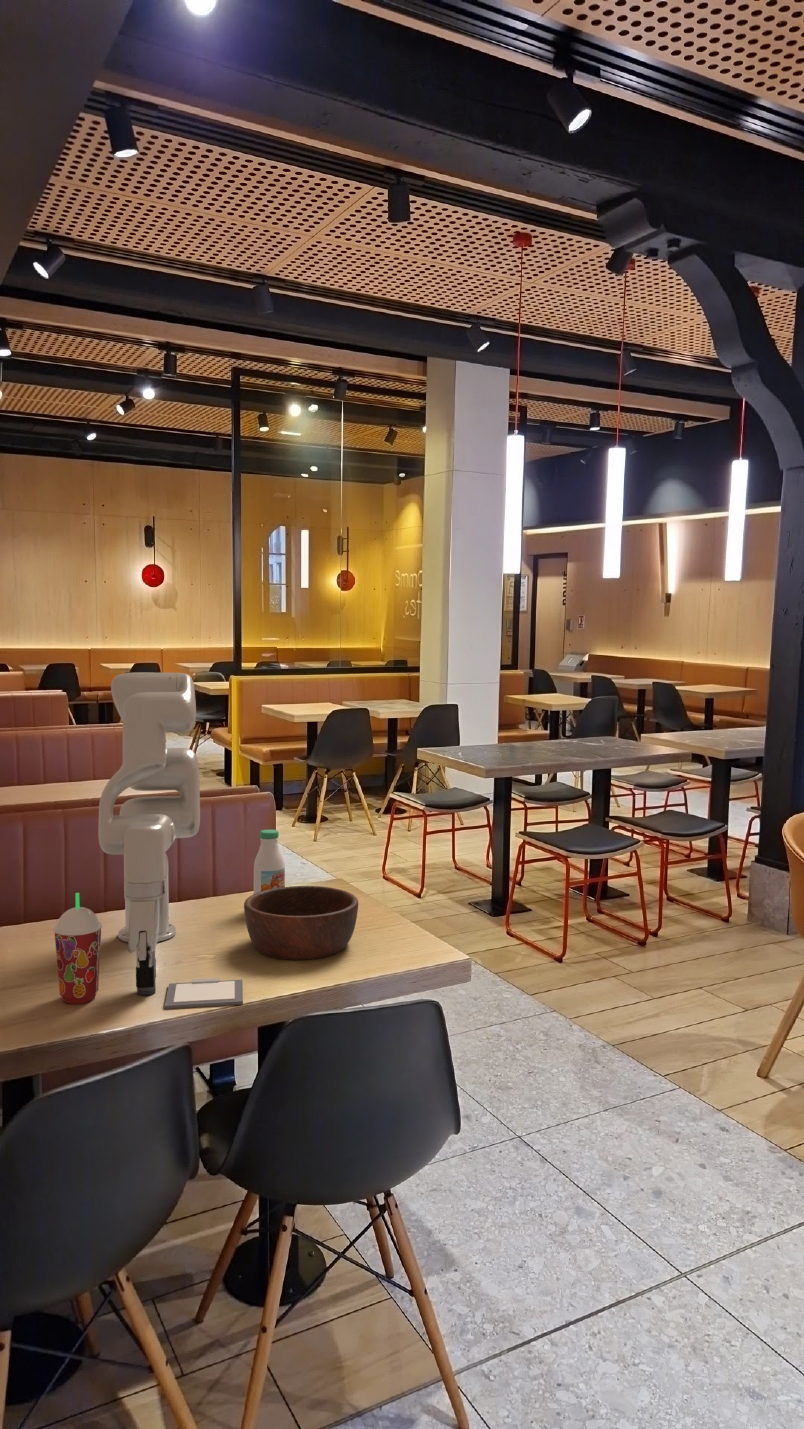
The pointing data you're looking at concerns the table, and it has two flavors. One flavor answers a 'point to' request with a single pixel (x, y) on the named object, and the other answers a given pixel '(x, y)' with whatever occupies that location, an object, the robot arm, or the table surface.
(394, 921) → the table surface
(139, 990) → the orange topped gray cylinder
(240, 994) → the clipboard
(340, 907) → the wooden bowl
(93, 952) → the smoothie
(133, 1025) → the table surface
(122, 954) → the table surface
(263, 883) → the milk bottle
